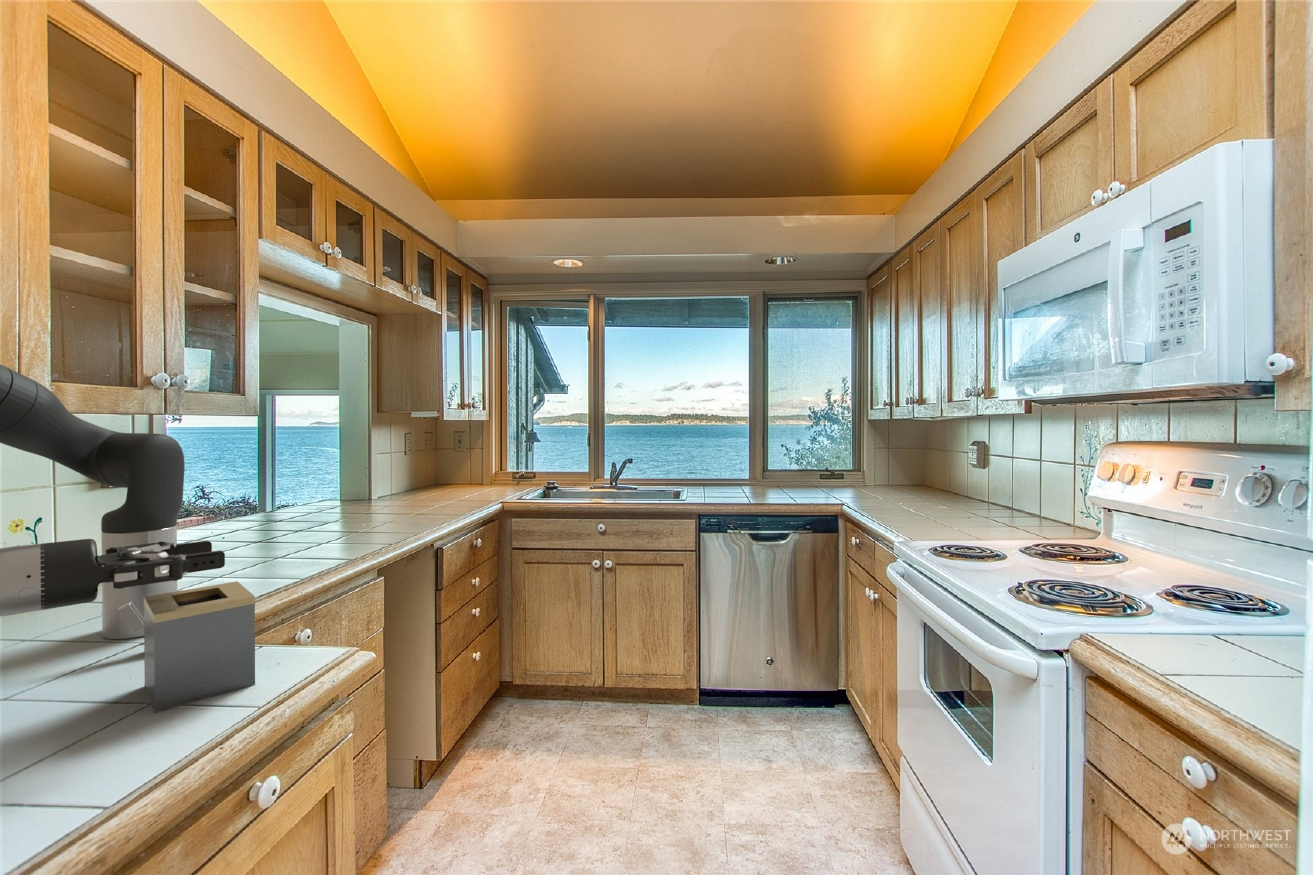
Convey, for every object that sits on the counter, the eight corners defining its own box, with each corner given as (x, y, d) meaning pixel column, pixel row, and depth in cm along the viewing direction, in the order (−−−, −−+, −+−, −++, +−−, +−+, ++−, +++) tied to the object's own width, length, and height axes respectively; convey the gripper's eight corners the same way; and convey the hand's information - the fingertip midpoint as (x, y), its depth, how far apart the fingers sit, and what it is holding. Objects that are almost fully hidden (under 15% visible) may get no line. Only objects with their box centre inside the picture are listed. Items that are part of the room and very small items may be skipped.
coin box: (144, 685, 72) (143, 596, 72) (237, 662, 80) (237, 581, 79) (154, 713, 66) (153, 615, 65) (255, 684, 73) (254, 596, 73)
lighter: (182, 644, 86) (182, 594, 86) (181, 648, 84) (181, 597, 84) (120, 655, 82) (119, 602, 81) (117, 659, 80) (117, 605, 80)
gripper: (35, 554, 57) (229, 533, 69) (36, 535, 66) (207, 519, 78) (36, 625, 57) (229, 591, 69) (37, 596, 66) (207, 570, 79)
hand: (217, 553), depth 74 cm, fingers open, 8 cm apart
